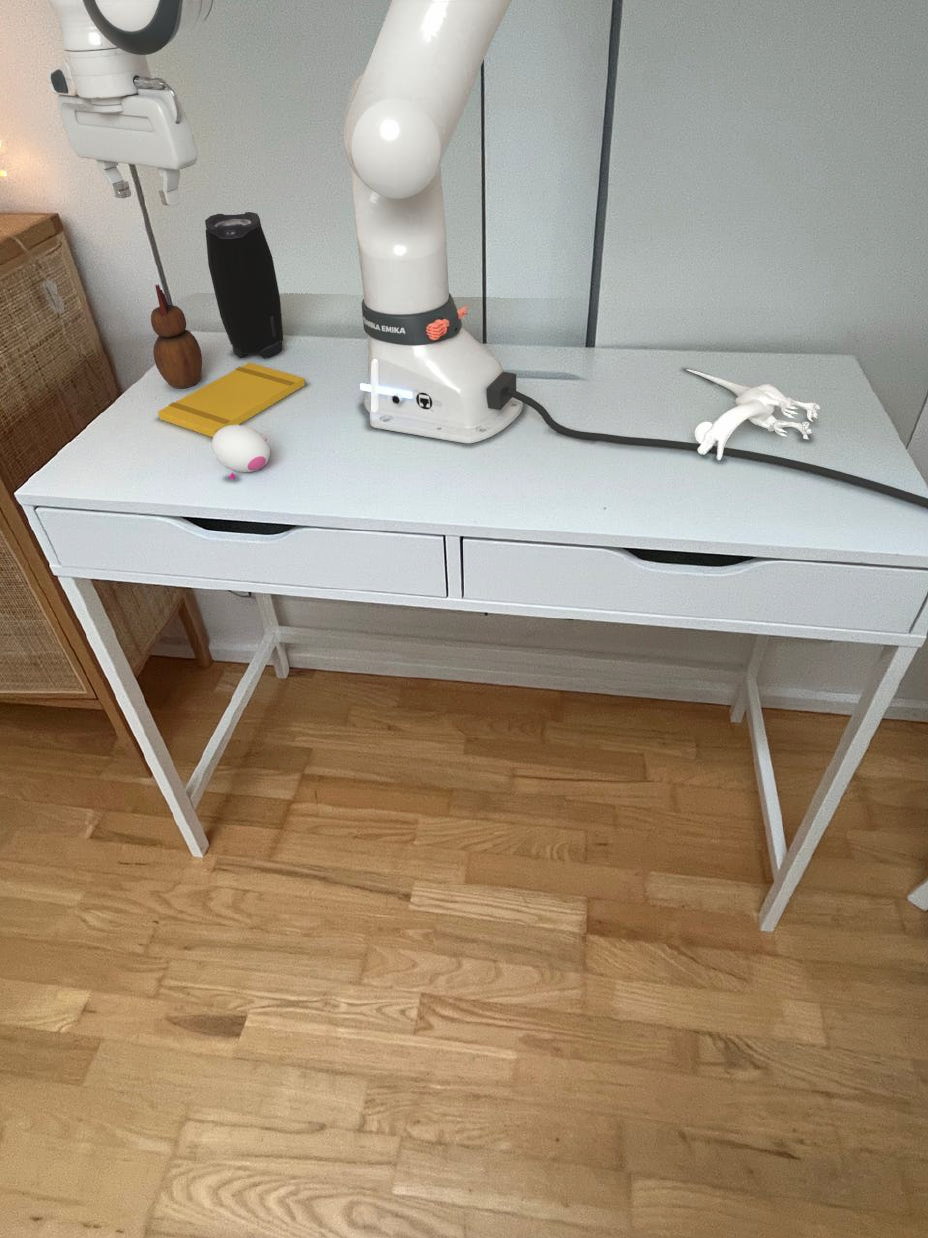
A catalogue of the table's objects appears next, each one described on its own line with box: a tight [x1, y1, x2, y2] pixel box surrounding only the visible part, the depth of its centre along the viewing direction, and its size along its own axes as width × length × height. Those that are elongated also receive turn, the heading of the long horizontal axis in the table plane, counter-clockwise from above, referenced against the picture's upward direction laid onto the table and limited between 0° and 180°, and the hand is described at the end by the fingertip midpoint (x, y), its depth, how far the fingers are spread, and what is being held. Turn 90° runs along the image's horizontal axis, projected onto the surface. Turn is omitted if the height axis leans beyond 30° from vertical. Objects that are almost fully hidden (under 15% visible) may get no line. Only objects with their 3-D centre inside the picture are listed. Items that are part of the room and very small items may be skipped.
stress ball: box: [211, 424, 271, 481], centre depth 104 cm, size 8×8×7 cm
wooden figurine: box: [150, 284, 203, 389], centre depth 119 cm, size 7×6×15 cm
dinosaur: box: [685, 368, 821, 461], centre depth 110 cm, size 25×9×16 cm
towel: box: [157, 362, 306, 438], centre depth 118 cm, size 11×18×1 cm, turn 147°
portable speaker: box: [204, 211, 284, 359], centre depth 125 cm, size 9×9×20 cm
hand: (147, 200), depth 108 cm, fingers open, 8 cm apart
